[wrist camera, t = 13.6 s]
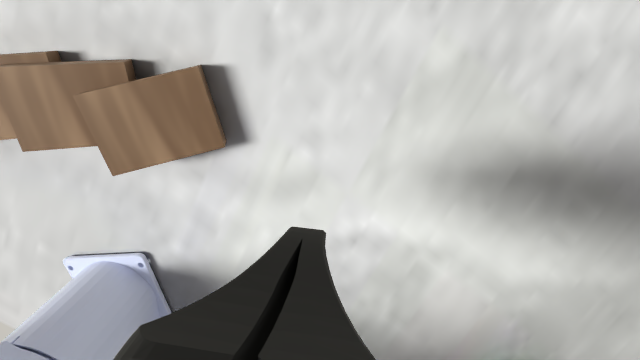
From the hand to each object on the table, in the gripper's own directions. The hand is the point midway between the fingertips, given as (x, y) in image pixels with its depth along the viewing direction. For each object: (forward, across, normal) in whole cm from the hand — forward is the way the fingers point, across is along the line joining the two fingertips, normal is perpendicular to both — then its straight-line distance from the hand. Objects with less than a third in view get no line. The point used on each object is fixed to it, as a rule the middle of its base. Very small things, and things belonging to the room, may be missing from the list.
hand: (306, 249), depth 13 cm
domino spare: (+10, +8, -3) cm, 13 cm away
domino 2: (+10, +13, -2) cm, 16 cm away
